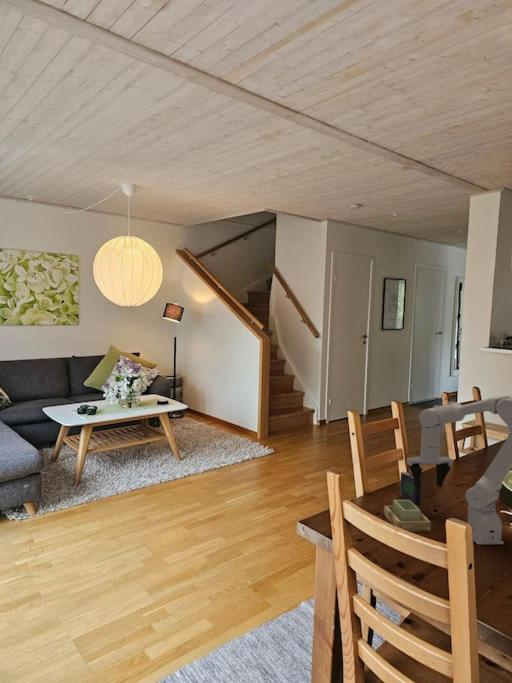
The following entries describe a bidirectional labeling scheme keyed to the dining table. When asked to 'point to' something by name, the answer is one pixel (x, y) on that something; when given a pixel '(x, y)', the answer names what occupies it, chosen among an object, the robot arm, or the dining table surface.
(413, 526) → the beige flat rectangular tray
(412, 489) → the dark blue box
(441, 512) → the dining table surface
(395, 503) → the small crate
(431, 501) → the dining table surface
